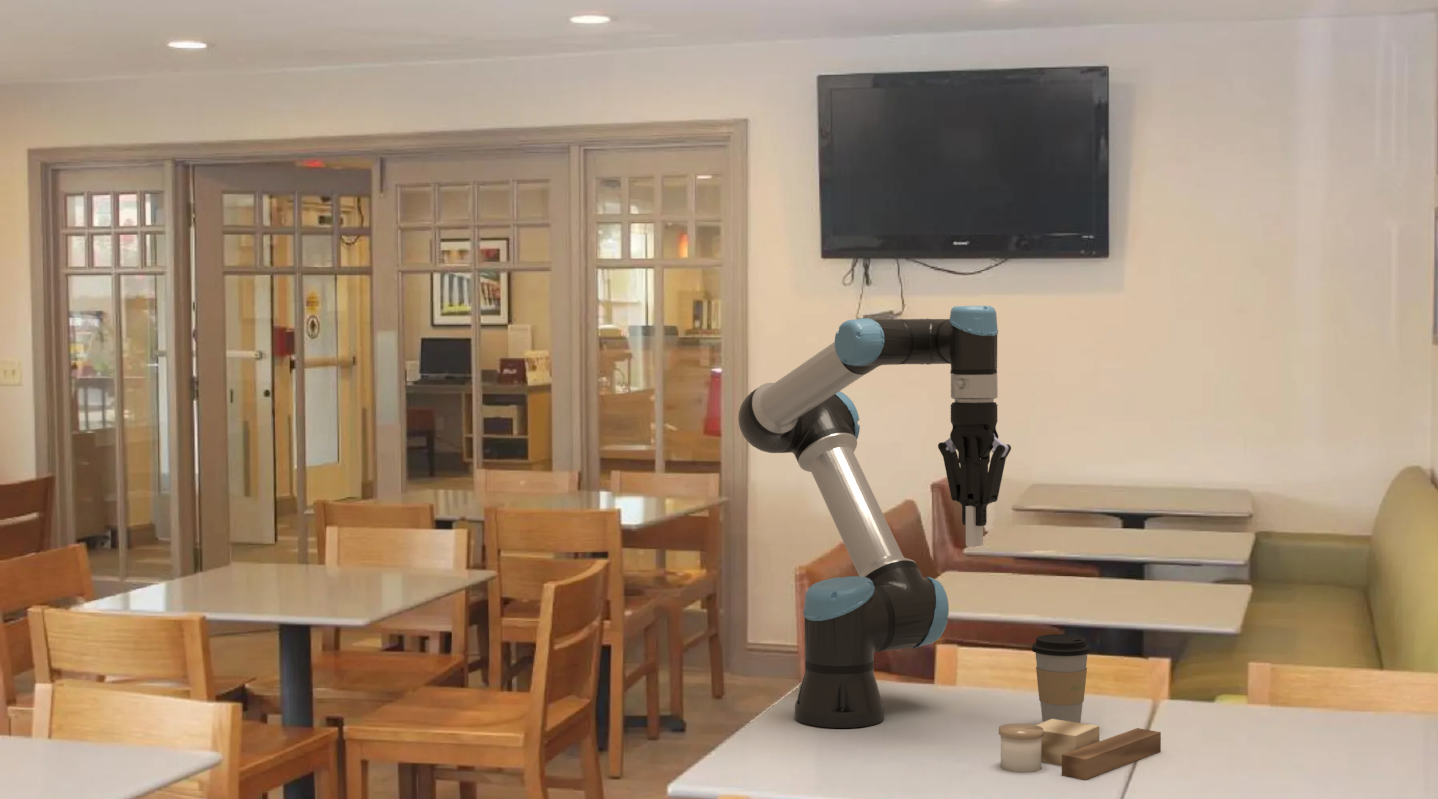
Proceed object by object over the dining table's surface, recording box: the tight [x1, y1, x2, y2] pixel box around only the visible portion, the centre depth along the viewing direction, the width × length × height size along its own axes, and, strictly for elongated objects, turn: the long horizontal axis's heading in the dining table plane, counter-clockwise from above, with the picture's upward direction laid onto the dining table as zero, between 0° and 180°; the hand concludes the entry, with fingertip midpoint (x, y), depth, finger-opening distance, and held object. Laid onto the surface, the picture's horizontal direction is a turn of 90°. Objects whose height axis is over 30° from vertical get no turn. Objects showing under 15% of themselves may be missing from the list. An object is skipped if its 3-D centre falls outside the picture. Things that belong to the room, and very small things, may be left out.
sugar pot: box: [998, 722, 1044, 773], centre depth 242 cm, size 7×7×6 cm
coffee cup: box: [1031, 633, 1091, 723], centre depth 264 cm, size 9×9×15 cm
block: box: [1035, 719, 1100, 767], centre depth 246 cm, size 8×8×5 cm
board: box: [1061, 727, 1162, 781], centre depth 243 cm, size 4×22×3 cm, turn 136°
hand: (974, 545), depth 263 cm, fingers closed
